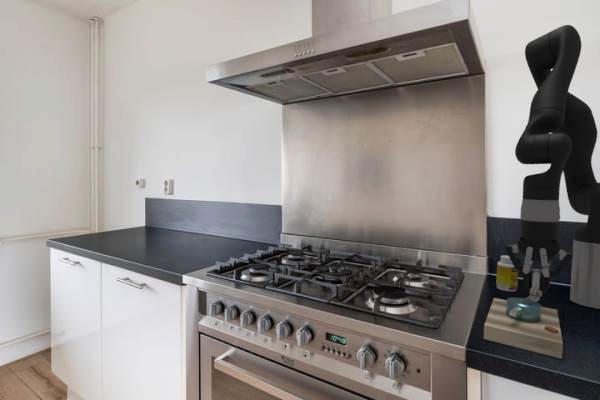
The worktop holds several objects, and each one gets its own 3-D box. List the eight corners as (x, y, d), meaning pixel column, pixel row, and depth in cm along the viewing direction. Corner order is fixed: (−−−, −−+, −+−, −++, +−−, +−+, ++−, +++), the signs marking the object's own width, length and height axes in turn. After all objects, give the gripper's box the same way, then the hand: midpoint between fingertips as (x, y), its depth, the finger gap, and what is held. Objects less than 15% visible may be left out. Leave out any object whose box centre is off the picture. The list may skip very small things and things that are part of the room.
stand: (493, 309, 86) (493, 295, 85) (556, 322, 78) (557, 307, 78) (483, 338, 69) (484, 322, 69) (561, 358, 62) (563, 340, 62)
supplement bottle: (512, 293, 98) (513, 259, 97) (492, 288, 102) (494, 256, 102) (520, 290, 101) (522, 257, 100) (501, 285, 105) (502, 253, 105)
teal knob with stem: (529, 329, 67) (532, 287, 66) (495, 319, 72) (497, 279, 71) (552, 308, 78) (554, 272, 77) (521, 301, 83) (523, 266, 82)
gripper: (501, 217, 80) (498, 286, 81) (575, 222, 70) (571, 301, 71) (509, 215, 86) (506, 280, 87) (579, 219, 76) (575, 293, 77)
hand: (536, 289), depth 79 cm, fingers closed on teal knob with stem, 2 cm apart
